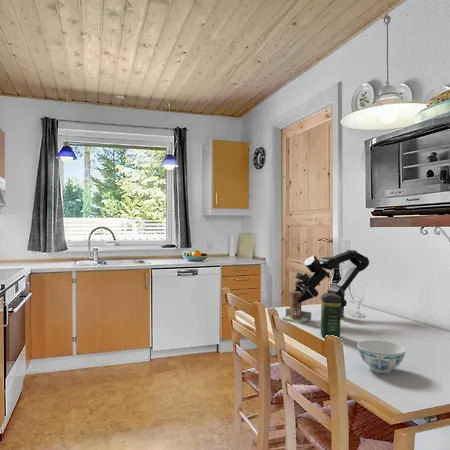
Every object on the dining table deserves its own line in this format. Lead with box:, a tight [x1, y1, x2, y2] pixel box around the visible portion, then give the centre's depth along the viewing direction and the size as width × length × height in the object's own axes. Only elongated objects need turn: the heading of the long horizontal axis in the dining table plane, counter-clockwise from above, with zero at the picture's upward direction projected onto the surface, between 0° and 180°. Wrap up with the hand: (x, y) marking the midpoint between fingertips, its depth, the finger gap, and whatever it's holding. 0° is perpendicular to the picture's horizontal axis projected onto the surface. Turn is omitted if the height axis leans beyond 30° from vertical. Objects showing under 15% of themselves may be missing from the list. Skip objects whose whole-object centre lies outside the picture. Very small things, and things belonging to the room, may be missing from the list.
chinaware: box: [356, 339, 407, 374], centre depth 134 cm, size 15×15×8 cm
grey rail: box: [285, 307, 312, 322], centre depth 205 cm, size 14×1×4 cm, turn 50°
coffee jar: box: [320, 292, 342, 338], centre depth 172 cm, size 10×8×19 cm
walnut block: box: [289, 290, 302, 319], centre depth 200 cm, size 4×5×13 cm
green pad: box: [282, 316, 308, 324], centre depth 200 cm, size 10×7×1 cm
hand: (294, 300), depth 200 cm, fingers open, 9 cm apart
